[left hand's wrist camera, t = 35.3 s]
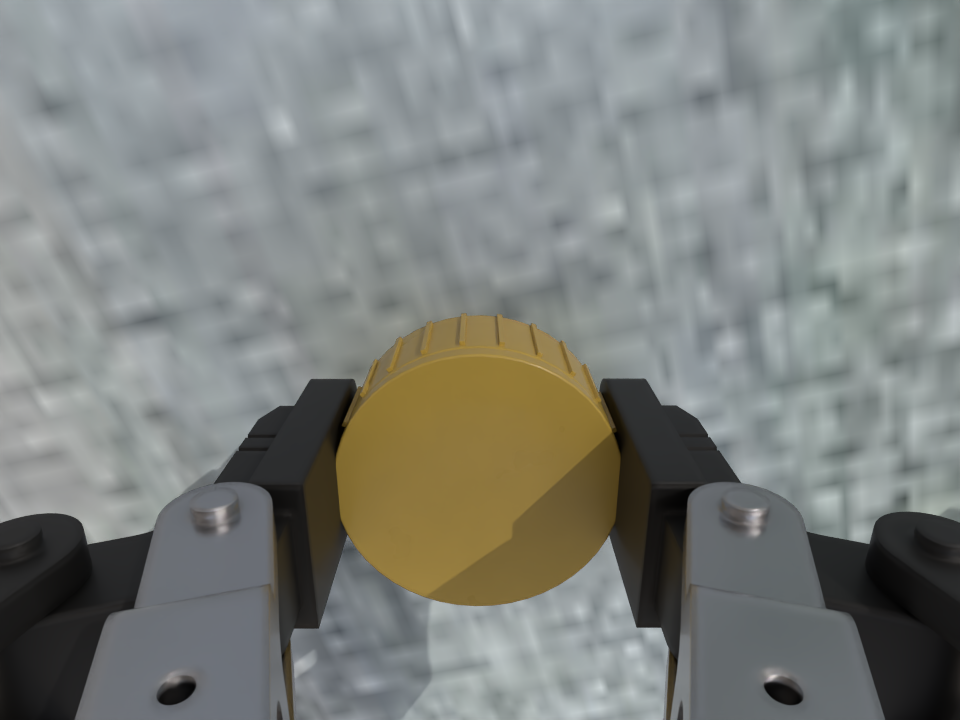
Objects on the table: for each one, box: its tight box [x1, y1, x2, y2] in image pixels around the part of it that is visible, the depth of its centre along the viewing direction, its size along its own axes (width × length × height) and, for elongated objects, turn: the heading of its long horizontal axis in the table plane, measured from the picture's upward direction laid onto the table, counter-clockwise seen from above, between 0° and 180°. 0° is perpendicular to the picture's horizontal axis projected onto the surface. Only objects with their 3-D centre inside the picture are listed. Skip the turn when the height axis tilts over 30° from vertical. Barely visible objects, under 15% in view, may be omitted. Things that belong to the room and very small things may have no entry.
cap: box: [336, 313, 621, 606], centre depth 11 cm, size 4×4×2 cm
